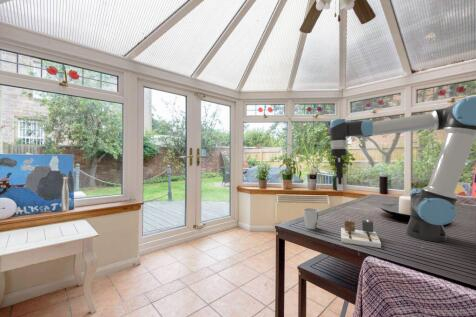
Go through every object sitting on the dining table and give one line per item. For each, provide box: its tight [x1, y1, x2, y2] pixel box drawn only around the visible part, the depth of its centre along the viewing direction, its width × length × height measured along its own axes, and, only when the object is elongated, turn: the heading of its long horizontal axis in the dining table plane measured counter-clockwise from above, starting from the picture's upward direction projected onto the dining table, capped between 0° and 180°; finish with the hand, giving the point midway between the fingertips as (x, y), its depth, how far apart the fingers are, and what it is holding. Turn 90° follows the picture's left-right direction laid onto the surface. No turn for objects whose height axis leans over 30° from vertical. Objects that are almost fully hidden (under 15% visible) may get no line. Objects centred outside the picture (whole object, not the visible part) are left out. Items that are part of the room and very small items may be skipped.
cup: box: [302, 207, 320, 230], centre depth 119 cm, size 8×8×10 cm
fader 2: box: [361, 219, 374, 232], centre depth 106 cm, size 4×3×5 cm
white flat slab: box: [340, 227, 382, 249], centre depth 103 cm, size 16×15×2 cm
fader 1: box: [344, 219, 356, 232], centre depth 106 cm, size 4×3×5 cm
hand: (339, 188), depth 113 cm, fingers open, 13 cm apart
